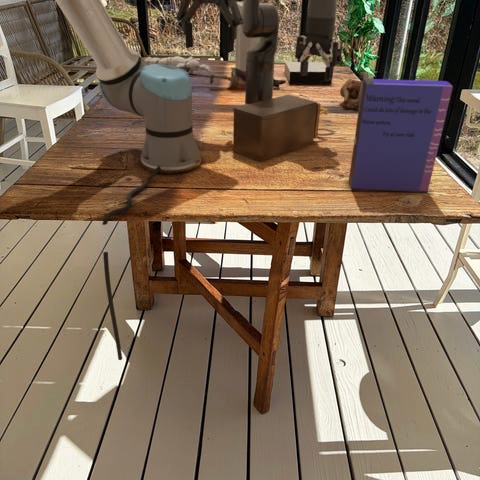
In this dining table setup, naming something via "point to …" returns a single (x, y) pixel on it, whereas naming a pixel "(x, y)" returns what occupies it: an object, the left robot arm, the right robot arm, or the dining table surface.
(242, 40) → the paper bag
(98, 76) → the left robot arm
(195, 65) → the toy
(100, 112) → the dining table surface
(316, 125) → the drawer
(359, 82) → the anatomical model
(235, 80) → the figurine
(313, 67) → the disc drive
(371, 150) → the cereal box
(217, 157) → the dining table surface
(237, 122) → the cabinet
